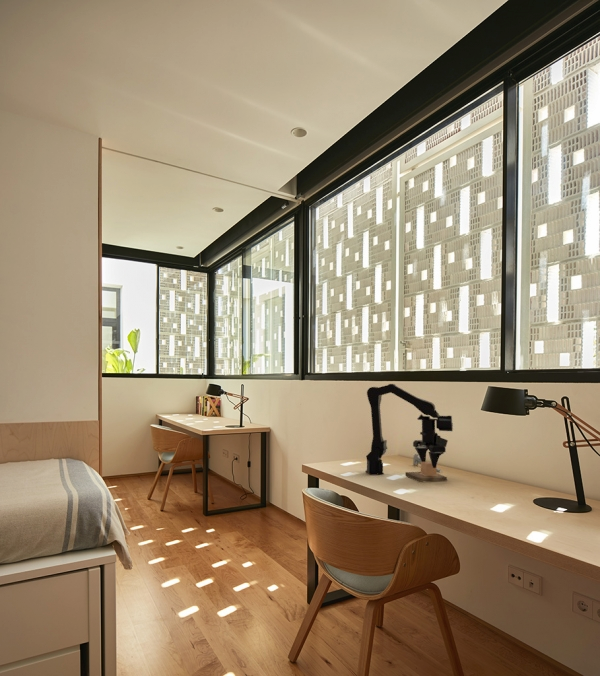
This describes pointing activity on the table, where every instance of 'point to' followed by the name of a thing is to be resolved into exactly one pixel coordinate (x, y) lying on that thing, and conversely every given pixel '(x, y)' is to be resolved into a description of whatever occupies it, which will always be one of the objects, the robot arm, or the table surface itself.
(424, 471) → the light brown cube
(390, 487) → the table surface
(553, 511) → the table surface
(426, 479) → the post board
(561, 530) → the table surface
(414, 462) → the caliper
